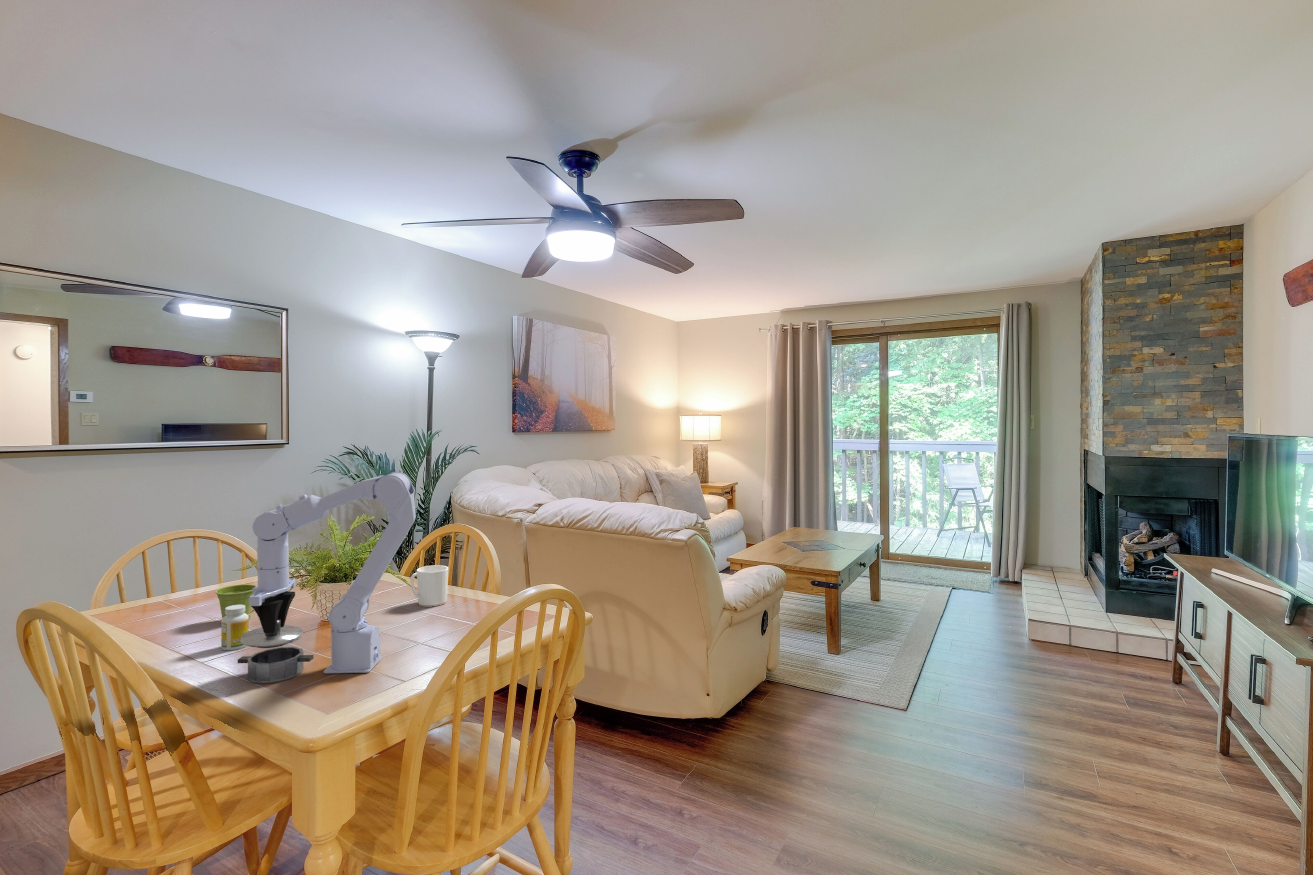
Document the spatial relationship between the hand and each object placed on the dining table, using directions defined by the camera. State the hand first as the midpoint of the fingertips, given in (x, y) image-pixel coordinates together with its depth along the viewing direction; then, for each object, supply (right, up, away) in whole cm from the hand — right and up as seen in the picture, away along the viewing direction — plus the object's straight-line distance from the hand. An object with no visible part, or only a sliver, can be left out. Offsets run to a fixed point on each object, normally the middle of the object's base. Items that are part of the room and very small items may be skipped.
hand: (274, 629), depth 131 cm
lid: (0, -3, 0) cm, 3 cm away
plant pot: (-31, -9, +34) cm, 47 cm away
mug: (+14, -9, +51) cm, 54 cm away
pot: (+1, -9, 0) cm, 9 cm away
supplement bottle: (-19, -9, +15) cm, 26 cm away
